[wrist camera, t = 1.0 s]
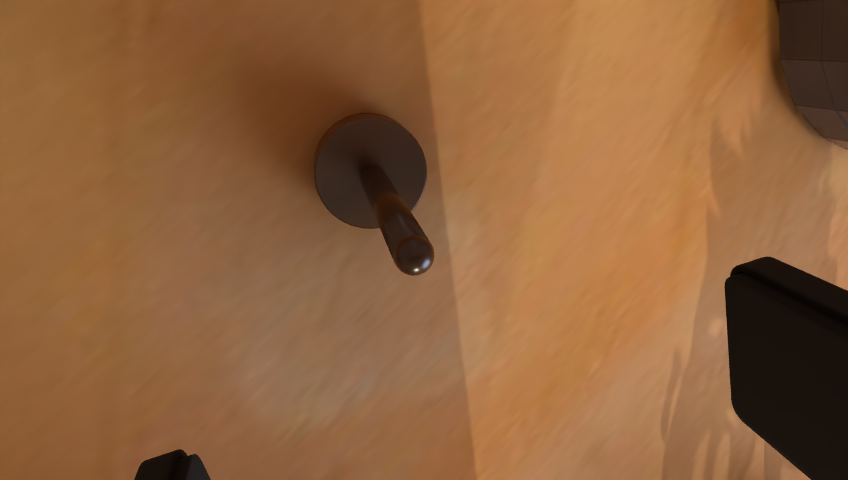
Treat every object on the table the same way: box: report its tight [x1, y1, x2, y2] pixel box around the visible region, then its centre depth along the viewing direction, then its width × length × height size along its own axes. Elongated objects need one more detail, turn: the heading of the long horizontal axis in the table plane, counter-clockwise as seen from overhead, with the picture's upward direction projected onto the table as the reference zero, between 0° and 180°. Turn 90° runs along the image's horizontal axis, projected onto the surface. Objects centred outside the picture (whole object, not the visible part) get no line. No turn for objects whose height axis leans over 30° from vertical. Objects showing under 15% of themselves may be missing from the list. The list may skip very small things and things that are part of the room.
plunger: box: [314, 113, 434, 276], centre depth 22 cm, size 5×5×13 cm
